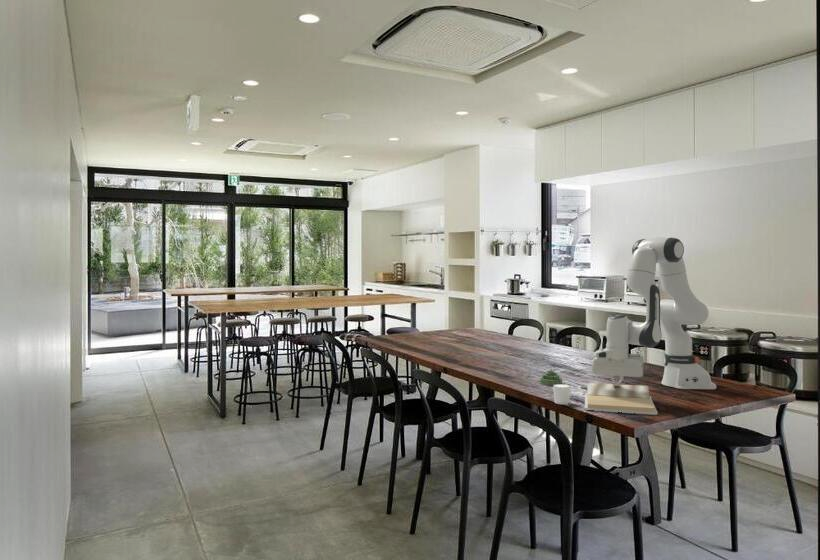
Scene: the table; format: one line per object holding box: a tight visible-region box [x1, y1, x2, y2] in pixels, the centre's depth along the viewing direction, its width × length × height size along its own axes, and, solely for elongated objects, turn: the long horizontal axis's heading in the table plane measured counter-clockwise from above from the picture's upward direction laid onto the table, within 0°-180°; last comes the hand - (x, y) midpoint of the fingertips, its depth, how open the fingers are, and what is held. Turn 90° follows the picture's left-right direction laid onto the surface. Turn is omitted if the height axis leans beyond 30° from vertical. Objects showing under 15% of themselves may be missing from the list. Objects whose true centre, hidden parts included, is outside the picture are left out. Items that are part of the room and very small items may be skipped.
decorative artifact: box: [539, 368, 563, 387], centre depth 270 cm, size 10×7×10 cm
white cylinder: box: [552, 383, 571, 405], centre depth 235 cm, size 7×7×7 cm
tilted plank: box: [586, 382, 651, 399], centre depth 238 cm, size 24×9×2 cm, turn 73°
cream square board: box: [584, 392, 659, 416], centre depth 231 cm, size 26×26×2 cm
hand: (616, 386), depth 240 cm, fingers closed, pressing on tilted plank
